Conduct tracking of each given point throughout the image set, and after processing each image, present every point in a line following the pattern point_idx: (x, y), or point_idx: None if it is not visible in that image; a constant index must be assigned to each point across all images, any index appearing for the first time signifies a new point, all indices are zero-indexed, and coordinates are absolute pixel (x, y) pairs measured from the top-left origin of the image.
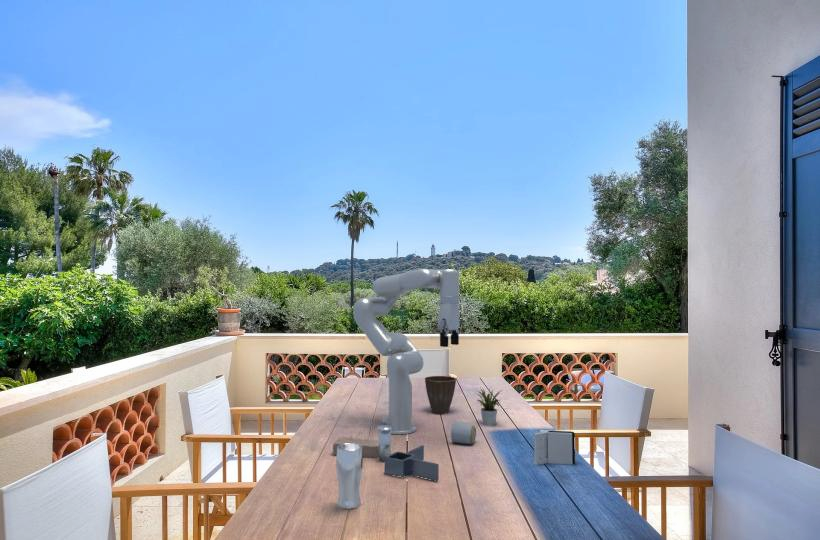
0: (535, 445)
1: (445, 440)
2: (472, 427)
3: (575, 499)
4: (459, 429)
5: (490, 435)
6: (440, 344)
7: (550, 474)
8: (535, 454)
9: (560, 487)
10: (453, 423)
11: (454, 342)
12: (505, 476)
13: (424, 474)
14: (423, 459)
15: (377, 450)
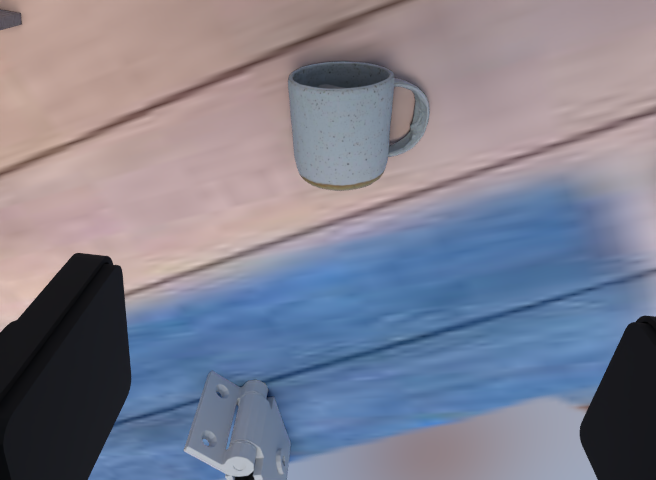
0: (195, 418)
1: (350, 13)
2: (322, 186)
3: None
4: (297, 124)
5: (504, 190)
6: (61, 278)
7: (152, 409)
8: (201, 396)
9: None
10: (315, 90)
11: (619, 411)
12: None
13: None
14: (16, 24)
15: None
